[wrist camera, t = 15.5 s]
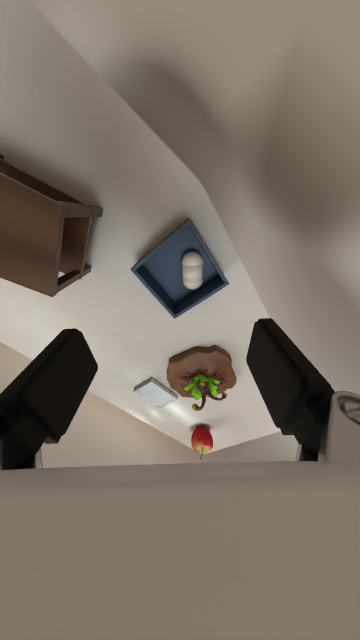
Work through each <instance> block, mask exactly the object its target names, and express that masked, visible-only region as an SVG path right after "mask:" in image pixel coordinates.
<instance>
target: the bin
mask: <svg viewBox="0 0 360 640" xmlns="http://www.w3.org/2000/svg"><path fill="white" fill-rule="evenodd" d="M190 251H195V252H198V253H199V254H200V255H201V256H202V258H203V262H204V267H203V283H202V285H201V286H200V287H199V288H197V289H194V290H191V289H188V288H186V287H185V285H184V284H183V280H182V258H183V257H184V255H185V254H186V253H188V252H190ZM131 271H132V272H133V273H134V274H135V275H136V276H137V277H138V278H139V280H140V281H141V282H142V283H143V284H144V285H145V286H146V287H147V288H148V290H149V291H150V292H151V293H152V294H153V295H154V296H155V297H156V299H157V300H158V301H159V302H160V303H161V304H162V305H163V306H164V308H165V309H166V310H167V311H168V312H169V313H170V314H171V315H172V316H173V318H174V319H175V318H177V317H178V316H180V315H181V314H183V313H184V312H186V311H188V310H189V309H191V308H192V307H194V306H195V305H197V304H199V303H200V302H202V301H203V300H205V299H206V298H208V297H210V296H211V295H213V294H214V293H216V292H218V291H219V290H221V289H222V288H224V287H225V286H227V285H229V283H228V281H227V279H226V278H225V276H224V274H223V273H222V271H221V269H220V268H219V266H218V264H217V263H216V261H215V259H214V258H213V256H212V254H211V253H210V251H209V249H208V248H207V246H206V244H205V243H204V241H203V239H202V238H201V236H200V234H199V233H198V231H197V229H196V228H195V226H194V224H193V223H192V221H191V219H189V218H188V219H187V220H186V221H185V222H183V223H182V224H181V225H180V226H179V227H178V228H176V229H175V230H174V231H173V232H172V233H170V234H169V235H168V236H167V237H166V238H165V239H163V240H162V241H161V242H160V243H159V244H158V245H156V246H155V247H154V248H153V249H152V250H151V251H149V252H148V253H147V254H146V255H145V256H143V257H142V258H141V259H140V260H139V261H138V262H137V263H136V264H135V265H134V266H133V267H132V268H131Z"/></svg>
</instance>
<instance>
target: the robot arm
mask: <svg viewBox="0 0 360 640" xmlns="http://www.w3.org/2000/svg"><path fill="white" fill-rule="evenodd" d="M246 360H247V364H248V367H249V369H250V371H251V373H252V375H253V378H254V380H255V382H256V384H257V386H258V389H259V391H260V393H261V395H262V398H263V400H264V402H265V404H266V406H267V409H268V411H269V413H270V415H271V417H272V420H273V422H274V424H275V425H276V427H277V428H280V429H281V432H282V434H283V435H295V438H296V439H297V441H298V443H299V445H298V450H297V455H296V460H295V461H278V462H277V461H275V462H274V461H271V462H270V461H269V462H226V463H189V464H154V465H126V466H125V465H123V466H92V467H66V468H43V465H42V457H41V446H42V444H43V443H44V442H45V443H46V444H51V443H58V442H59V440H60V438H61V436H62V435H64V434H65V433H66V431H67V429H68V427H69V425H70V423H71V421H72V419H73V417H74V415H75V413H76V411H77V409H78V408H79V405H80V404H81V401H82V399H83V398H84V396H85V394H86V392H87V390H88V388H89V386H90V384H91V382H92V380H93V378H94V376H95V374H96V372H97V370H98V365H97V363H96V361H95V359H94V357H93V354H92V352H91V350H90V348H89V346H88V344H87V342H86V340H85V338H84V336H83V334H82V332H81V331H79V330H78V329H64V330H62V331H61V332H60V333H59V334H58V335H57V336H56V338H55V339H54V340H53V341H52V342H51V343H50V344H49V345H48V346H47V347H46V348H45V349H44V350H43V351H42V352H41V353H40V354H39V355H38V356H37V357H36V358H35V359H34V360H33V361H32V362H31V363H30V364H29V365H28V366H27V367H26V368H25V369H24V371H22V372H21V373H20V374H19V375H18V376H17V377H16V379H14V381H13V382H12V383H11V384H10V385H9V386H8V387H7V388H6V389H5V390H4V391H3V392H2V393H1V394H0V640H360V395H358V394H355V393H352V392H347V391H337V392H335V391H334V390H333V389H332V388H331V385H330V384H329V383H328V382H327V381H326V379H325V378H324V377H323V376H322V375H321V374H320V373H319V371H318V370H317V369H316V368H315V367H314V366H313V365H312V363H311V362H310V361H309V360H308V359H307V358H306V357H305V356H304V354H303V353H302V352H301V351H300V350H299V349H298V348H297V346H296V345H295V344H294V343H293V342H292V341H291V340H290V339H289V338H288V336H287V335H286V334H285V333H284V332H283V330H282V329H281V328H280V327H279V326H278V325H277V324H276V323H275V322H274V320H273V319H271V318H266V319H259V320H258V322H255V324H254V328H253V332H252V336H251V341H250V345H249V349H248V353H247V358H246Z"/></svg>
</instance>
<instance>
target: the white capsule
mask: <svg viewBox="0 0 360 640" xmlns="http://www.w3.org/2000/svg"><path fill="white" fill-rule="evenodd" d="M203 267H204V262H203V258H202V256H201V255H200V254H199V253H198V252H195V251H190V252H188V253H186V254H185V255H184V257H183V258H182V280H183V284H184V285H185V287H186V288H188V289H191V290H194V289H197V288H199V287H200V286H201V285H202V283H203Z"/></svg>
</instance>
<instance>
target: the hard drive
mask: <svg viewBox="0 0 360 640" xmlns="http://www.w3.org/2000/svg"><path fill="white" fill-rule="evenodd" d="M133 392H135V393H137V394H138V395H140V396H142V397H143V398H145V399H146V400H148V401H150V402H151V403H153V404H155V405H156V406H158V407H160V408H161V407H163V406H165V405H167V404H169V403H171V402H173V401H175V400H177V399H178V396H177V395H176V394H174V393H173V392H171V391H170V390H168V389H167V388H166V387H164V386H163V385H161V384H160V383H158V382H157V381H156V380H154V379H153V378H150V379H148V380H146V381H145V382H143V383H141V384H140V385H138V386H136V387H135V388H134V390H133Z"/></svg>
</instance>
